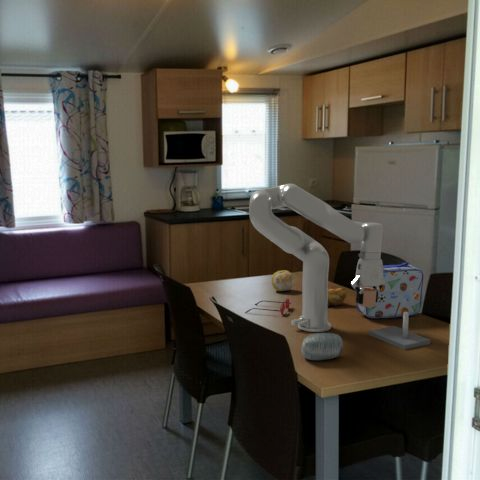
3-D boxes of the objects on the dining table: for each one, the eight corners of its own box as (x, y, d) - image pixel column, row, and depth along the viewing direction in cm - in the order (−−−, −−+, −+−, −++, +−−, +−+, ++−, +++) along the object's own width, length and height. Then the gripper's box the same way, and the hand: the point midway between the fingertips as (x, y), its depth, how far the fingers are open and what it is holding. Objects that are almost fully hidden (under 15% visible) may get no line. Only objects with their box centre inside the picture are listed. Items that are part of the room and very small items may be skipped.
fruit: (267, 290, 277) (267, 269, 276) (287, 287, 282) (287, 267, 280) (277, 294, 268) (278, 273, 267) (297, 292, 273) (298, 271, 271)
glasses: (282, 317, 233) (283, 305, 232) (244, 313, 239) (244, 302, 238) (291, 308, 246) (291, 297, 245) (254, 305, 252) (254, 294, 251)
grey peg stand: (404, 349, 194) (405, 318, 192) (368, 334, 209) (369, 305, 208) (430, 343, 199) (431, 313, 198) (393, 329, 215) (394, 301, 213)
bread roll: (322, 309, 244) (323, 290, 243) (311, 303, 253) (312, 285, 252) (348, 306, 249) (349, 287, 248) (337, 300, 258) (337, 283, 256)
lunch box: (412, 309, 242) (414, 258, 239) (426, 316, 233) (429, 262, 229) (353, 315, 235) (354, 262, 231) (365, 322, 225) (367, 267, 221)
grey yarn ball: (338, 340, 193) (336, 320, 187) (348, 362, 186) (346, 341, 179) (299, 351, 192) (296, 331, 186) (307, 373, 185) (304, 353, 179)
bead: (365, 307, 213) (366, 291, 212) (354, 303, 218) (355, 287, 217) (378, 306, 216) (380, 290, 215) (367, 301, 221) (368, 286, 220)
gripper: (358, 258, 207) (355, 307, 209) (394, 256, 215) (391, 302, 218) (345, 255, 213) (342, 301, 216) (381, 252, 221) (377, 298, 224)
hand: (366, 301), depth 217 cm, fingers closed on bead, 6 cm apart
